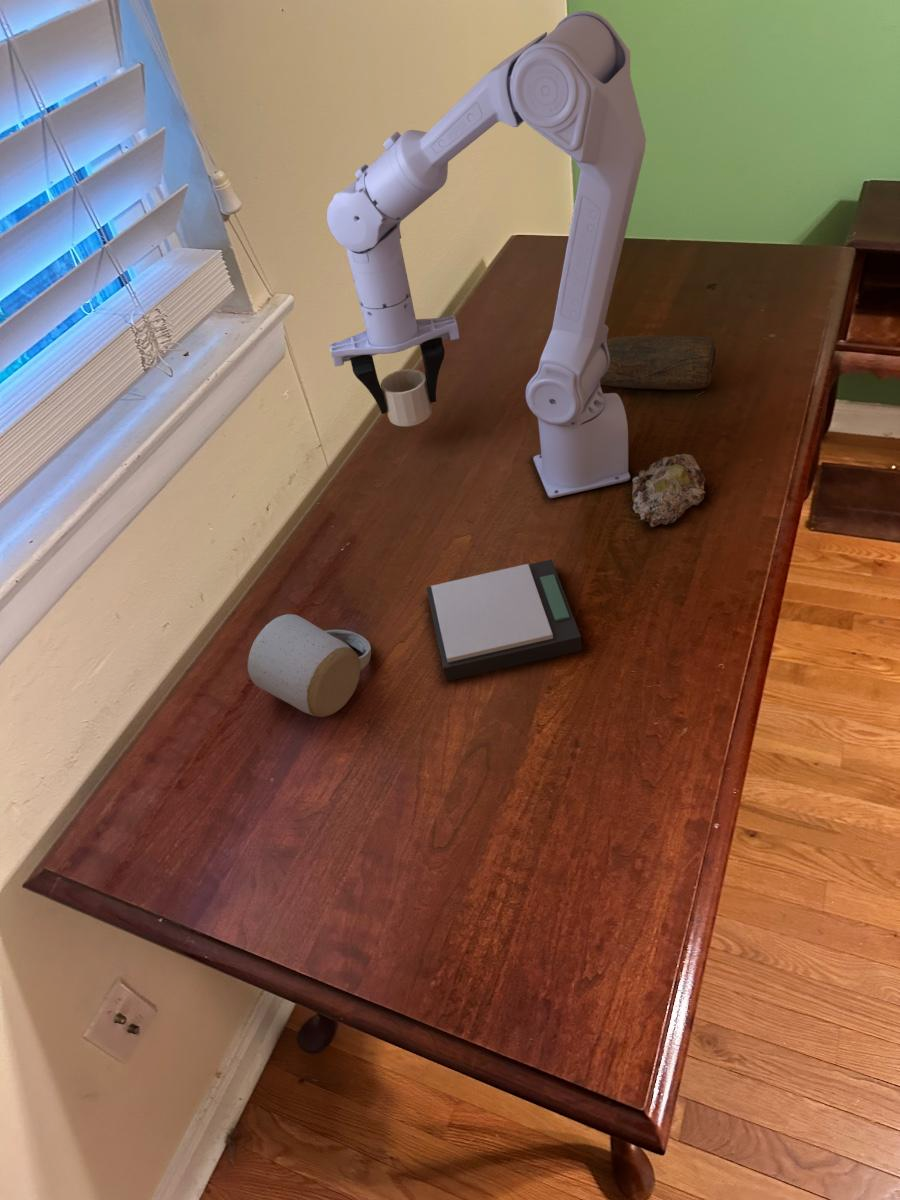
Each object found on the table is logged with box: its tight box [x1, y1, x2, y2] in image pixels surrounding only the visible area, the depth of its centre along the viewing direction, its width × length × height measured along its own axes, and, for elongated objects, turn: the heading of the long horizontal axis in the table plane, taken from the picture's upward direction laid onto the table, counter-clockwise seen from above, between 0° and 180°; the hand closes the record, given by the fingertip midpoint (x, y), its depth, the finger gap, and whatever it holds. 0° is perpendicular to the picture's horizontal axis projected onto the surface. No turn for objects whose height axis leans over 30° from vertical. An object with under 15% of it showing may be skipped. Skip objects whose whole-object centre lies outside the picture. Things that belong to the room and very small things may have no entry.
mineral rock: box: [631, 453, 707, 528], centre depth 92 cm, size 11×4×8 cm
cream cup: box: [379, 368, 433, 427], centre depth 102 cm, size 5×5×4 cm
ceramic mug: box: [247, 613, 372, 718], centre depth 79 cm, size 11×8×8 cm
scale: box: [426, 559, 583, 682], centre depth 83 cm, size 13×11×3 cm
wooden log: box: [600, 335, 717, 391], centre depth 106 cm, size 15×7×7 cm, turn 75°
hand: (408, 403), depth 102 cm, fingers closed on cream cup, 5 cm apart
